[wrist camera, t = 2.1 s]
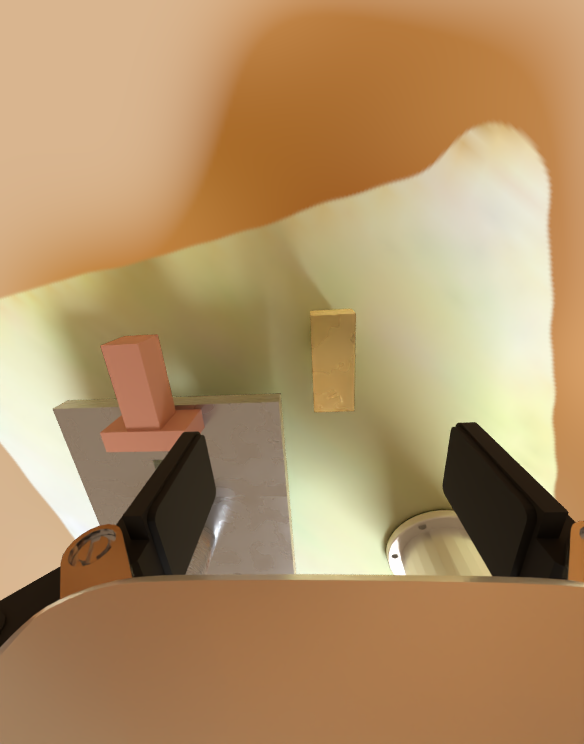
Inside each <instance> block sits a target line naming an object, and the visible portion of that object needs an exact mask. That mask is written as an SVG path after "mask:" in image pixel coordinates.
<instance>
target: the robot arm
mask: <svg viewBox="0 0 584 744" xmlns="http://www.w3.org/2000/svg"><path fill="white" fill-rule="evenodd" d="M443 491H444V494H445V496H446V498H447V499H448V501H449V503H450V504H451V506H452V508H453V510H454V511H453V510H438V511H431V512H427V513H423V514H420V515H417V516H415V517H413V518H410V519H409V520H407V521H406V522H404V523H403V524H401V525H400V526H399V527H398V528H397V529H396V530H395V531H394V532H393V534H392V535H391V536H390V538H389V541H388V543H387V548H386V554H387V559H388V563H389V566H390V568H391V570H392V572H393V574H394V575H331V574H203V575H185V574H186V572H187V569H188V567H189V564H190V561H191V559H192V556H193V554H194V551H195V549H196V546H197V543H198V541H199V538H200V536H201V533H202V531H203V528H204V526H205V523H206V520H207V518H208V515H209V513H210V510H211V508H212V505H213V502H214V500H215V497H216V486H215V481H214V476H213V472H212V467H211V462H210V458H209V453H208V448H207V444H206V439H205V436H204V435H201V434H200V432H198V431H194V432H183V433H182V434H181V436H180V437H179V438H178V440H177V441H176V443H175V444H174V445H173V447H172V448H171V449H170V451H169V452H168V454H167V455H166V456H165V458H164V459H163V460H162V462H161V463H160V465H159V466H158V467H157V469H156V470H155V472H154V473H153V474H152V476H151V477H150V478H149V480H148V481H147V483H146V484H145V485H144V487H143V488H142V489H141V491H140V492H139V494H138V495H137V496H136V498H135V499H134V500H133V502H132V503H131V505H130V506H129V507H128V509H127V510H126V512H125V513H124V514H123V516H122V517H121V518H120V520H119V521H118V523H117V524H116V525H113V524H106V525H101V526H98V527H95V528H93V529H90V530H89V531H87V532H85V533H83V534H82V535H81V536H79V537H78V538H77V539H76V540H74V541H73V542H72V543H71V544H70V546H69V547H68V548H67V549H66V551H65V553H64V554H63V556H62V560H61V566H60V567H58V568H57V569H55V570H53V571H51V572H50V573H48V574H46V575H44V576H43V577H41V578H39V579H37V580H36V581H34V582H32V583H31V584H29V585H27V586H25V587H23V588H22V589H20V590H18V591H16V592H15V593H13V594H11V595H10V596H8V597H6V598H4V599H3V600H1V601H0V744H584V521H578V522H575V521H574V520H573V519H572V518H571V517H570V516H569V515H568V511H567V510H566V509H565V508H564V507H563V506H562V505H561V504H560V503H558V501H557V500H556V499H555V498H554V497H553V496H552V495H550V494H549V493H548V492H547V491H546V490H545V489H544V488H543V487H542V486H541V485H540V484H539V483H538V482H537V481H536V480H535V479H534V478H533V477H532V476H531V475H530V474H529V473H528V472H527V471H526V470H525V469H524V468H523V467H522V466H521V465H520V464H519V463H517V462H516V461H515V460H514V459H513V458H512V457H511V456H510V455H509V454H508V453H507V452H506V451H505V450H504V449H503V448H502V447H501V446H500V445H499V444H498V443H497V442H496V441H495V440H494V439H493V438H492V437H491V436H490V435H489V434H488V433H487V432H485V431H484V430H483V429H482V428H481V427H480V426H479V425H478V424H477V423H475V422H470V423H457V425H456V427H452V429H451V433H450V440H449V446H448V453H447V459H446V466H445V472H444V479H443Z"/></svg>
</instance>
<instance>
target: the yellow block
mask: <svg viewBox="0 0 584 744" xmlns="http://www.w3.org/2000/svg"><path fill="white" fill-rule="evenodd" d="M310 321H311V346H312V371H313V395H314V412H340V411H354V396H355V333H356V313H355V312H354V311H353V310H352V309H334V310H316V311H310Z"/></svg>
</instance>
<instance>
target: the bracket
mask: <svg viewBox="0 0 584 744" xmlns="http://www.w3.org/2000/svg"><path fill="white" fill-rule="evenodd" d="M101 350H102V353H103V356H104V359H105V362H106V366H107V369H108V372H109V375H110V378H111V382H112V385H113V388H114V391H115V394H116V398H117V401H118V404H119V407H120V410H121V414H122V415H121V416H120V417H119V418H117V419H116V420H115V421H114V422H112V423H111V424H110V425H109V426H108V427H106V428H105V429H104V430H103V431H101V432H100V435H101V437H102V440H103V443H104V446H105V449H106V452H152V451H170V449H171V448H172V447H173V445H174V444H175V443H176V441H177V440H178V438H179V437H180V436H181V434H182V433H183V432H194V431H198V432H200V434H201V432H202V431H203V429H204V428H205V426H204V421H203V416H202V411H201V409H187V410H175V406H174V402H173V397H172V393H171V389H170V384H169V380H168V376H167V372H166V367H165V363H164V359H163V355H162V350H161V346H160V342H159V338H158V334H156V335H136V336H123V337H121V338H118V339H116V340H113V341H111V342H108V343H106V344H103V345H101Z"/></svg>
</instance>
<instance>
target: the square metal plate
mask: <svg viewBox="0 0 584 744" xmlns="http://www.w3.org/2000/svg"><path fill="white" fill-rule="evenodd" d="M173 402H174V406H175V410H187V409H201V411H202V416H203V421H204V426H205V428H204V429H203V431H202V432H201V435H204V436H205V439H206V444H207V448H208V453H209V458H210V462H211V467H212V472H213V476H214V481H215V486H216V497H215V500H214V502H213V505H212V508H211V510H210V513H209V515H208V518H207V520H206V523H205V526H204V528H203V531H202V533H201V536H200V538H199V541H198V543H197V546H196V549H195V551H194V554H193V556H192V559H191V561H190V564H189V567H188V569H187V572H186V574H185V575H203V574H296V567H295V555H294V543H293V532H292V520H291V508H290V497H289V485H288V473H287V461H286V450H285V438H284V426H283V415H282V403H281V393H276V394H245V395H215V396H185V397H173ZM53 411H54V414H55V416H56V419H57V421H58V424H59V426H60V428H61V431H62V433H63V436H64V438H65V441H66V443H67V446H68V448H69V451H70V453H71V455H72V458H73V460H74V463H75V465H76V468H77V470H78V473H79V475H80V478H81V480H82V482H83V485H84V487H85V490H86V492H87V495H88V497H89V500H90V502H91V505H92V507H93V510H94V512H95V514H96V517H97V519H98V522H99V524H100V526H101V525H106V524H113V525H116V524H117V523H118V521H119V520H120V518H121V517H122V516H123V514H124V513H125V512H126V510H127V509H128V507H129V506H130V505H131V503H132V502H133V500H134V499H135V498H136V496H137V495H138V494H139V492H140V491H141V489H142V488H143V487H144V485H145V484H146V483H147V481H148V480H149V478H150V477H151V476H152V474H153V473H154V472H155V470H156V469H157V467H158V466H159V465H160V463H161V462H162V460H163V459H164V458H165V456H166V455H167V454H168V452H169V451H152V452H106V449H105V446H104V443H103V440H102V437H101V435H100V432H101V431H103V430H104V429H105V428H106V427H108V426H109V425H110V424H111V423H112V422H114V421H115V420H116V419H117V418H119V417H120V416H121V415H122V414H121V410H120V407H119V404H118V401H117V399H94V400H67V401H66V402H64V403H62V404H60V405H59V406H57V407H55V408H53Z"/></svg>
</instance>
